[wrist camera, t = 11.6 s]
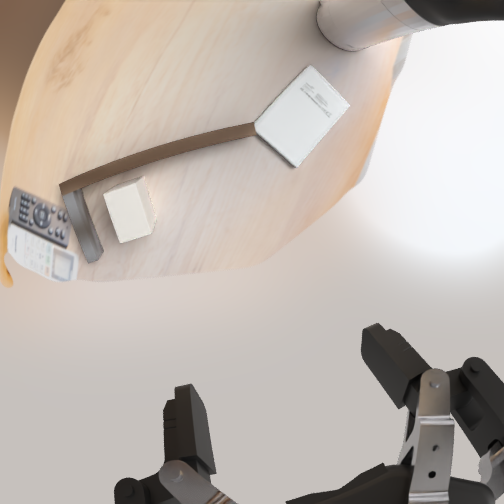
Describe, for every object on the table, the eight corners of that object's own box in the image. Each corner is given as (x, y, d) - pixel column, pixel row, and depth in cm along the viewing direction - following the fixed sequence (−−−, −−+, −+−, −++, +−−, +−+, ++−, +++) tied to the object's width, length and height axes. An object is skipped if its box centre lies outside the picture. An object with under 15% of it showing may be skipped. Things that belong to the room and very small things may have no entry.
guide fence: (67, 180, 30) (58, 184, 28) (248, 123, 33) (253, 122, 30) (94, 254, 35) (88, 263, 32) (265, 203, 38) (271, 209, 35)
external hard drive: (248, 128, 34) (306, 66, 32) (293, 167, 37) (345, 106, 35) (251, 127, 32) (311, 64, 30) (297, 168, 36) (351, 106, 34)
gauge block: (115, 185, 32) (103, 194, 27) (144, 175, 33) (135, 183, 28) (129, 227, 35) (120, 243, 30) (157, 218, 36) (151, 233, 30)
